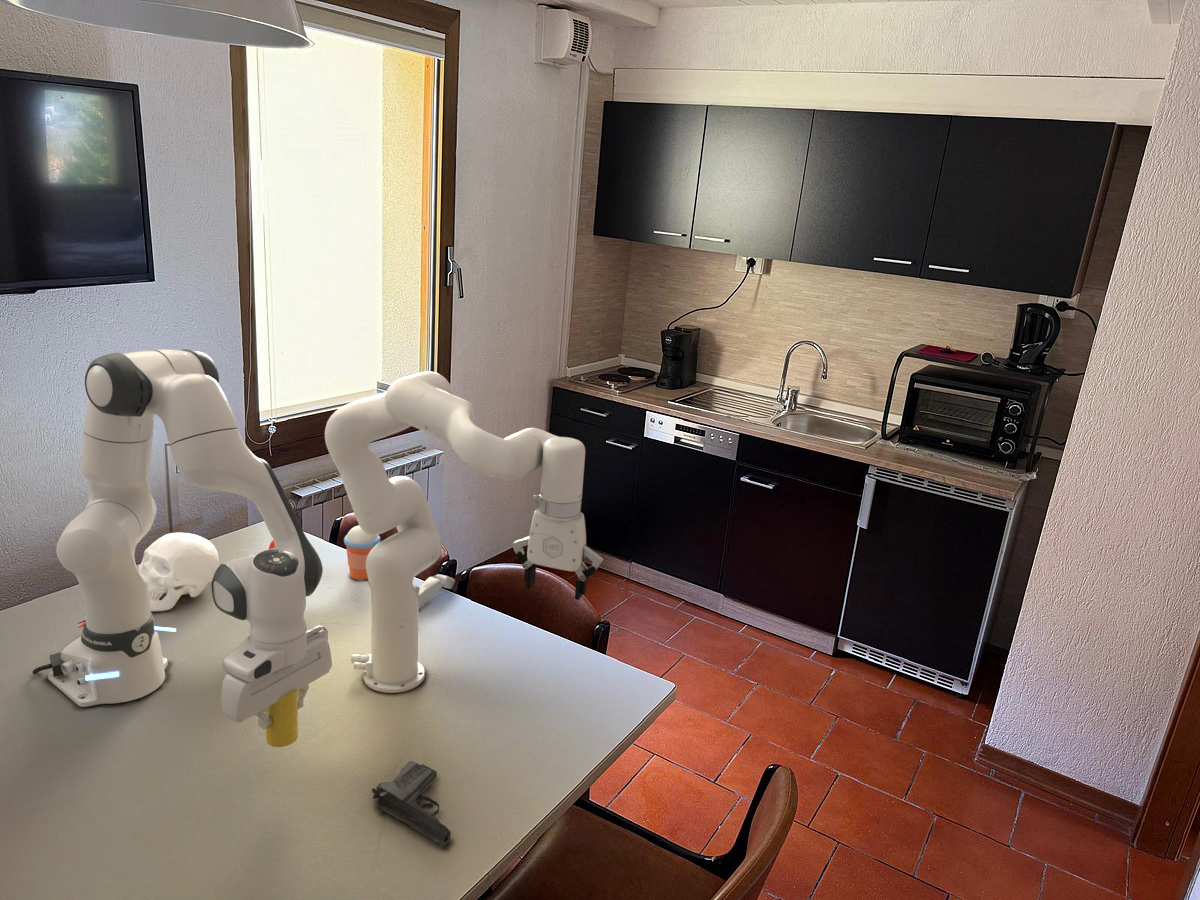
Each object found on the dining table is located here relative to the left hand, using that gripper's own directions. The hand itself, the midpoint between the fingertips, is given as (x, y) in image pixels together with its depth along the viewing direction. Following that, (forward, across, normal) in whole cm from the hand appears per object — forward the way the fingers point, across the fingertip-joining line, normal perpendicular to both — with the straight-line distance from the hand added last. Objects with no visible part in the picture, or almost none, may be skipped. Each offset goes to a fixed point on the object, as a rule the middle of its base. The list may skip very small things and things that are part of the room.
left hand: (281, 716), depth 147 cm
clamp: (+11, -63, -23) cm, 68 cm away
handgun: (+11, -8, +26) cm, 29 cm away
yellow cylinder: (+4, 0, 0) cm, 4 cm away
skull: (+11, -27, -70) cm, 76 cm away
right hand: (-19, -38, +30) cm, 52 cm away
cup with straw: (+11, -64, -45) cm, 79 cm away
